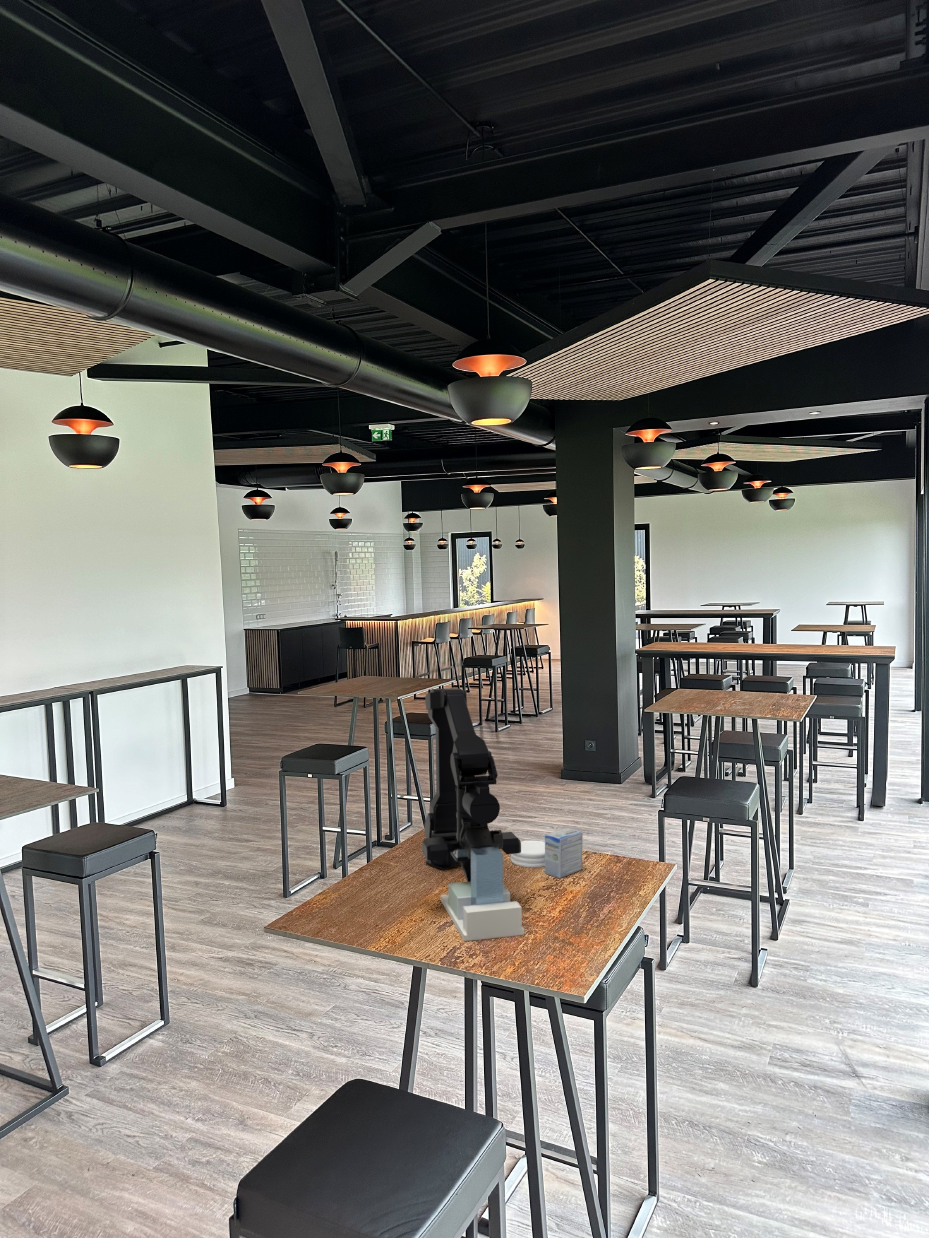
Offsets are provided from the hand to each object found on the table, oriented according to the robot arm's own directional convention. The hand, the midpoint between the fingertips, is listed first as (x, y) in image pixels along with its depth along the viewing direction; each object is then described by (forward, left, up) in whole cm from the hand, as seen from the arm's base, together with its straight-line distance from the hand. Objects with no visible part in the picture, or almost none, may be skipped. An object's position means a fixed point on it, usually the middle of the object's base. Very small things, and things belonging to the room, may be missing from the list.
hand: (471, 889), depth 161 cm
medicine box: (+1, +27, -3) cm, 27 cm away
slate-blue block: (+10, -6, -2) cm, 12 cm away
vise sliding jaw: (+5, -3, -2) cm, 6 cm away
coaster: (-9, +28, -3) cm, 30 cm away
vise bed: (+6, -3, -3) cm, 7 cm away
